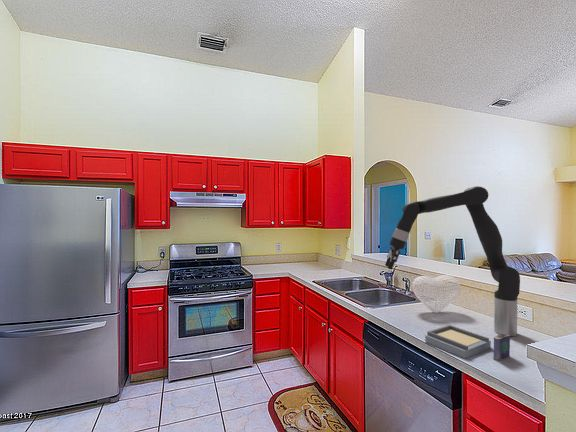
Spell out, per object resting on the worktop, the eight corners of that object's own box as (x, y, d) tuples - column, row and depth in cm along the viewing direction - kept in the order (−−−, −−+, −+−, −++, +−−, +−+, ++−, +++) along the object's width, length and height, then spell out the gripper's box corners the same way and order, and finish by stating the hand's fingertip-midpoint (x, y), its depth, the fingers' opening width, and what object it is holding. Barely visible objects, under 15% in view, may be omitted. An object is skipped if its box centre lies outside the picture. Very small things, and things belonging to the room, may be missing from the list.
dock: (451, 333, 147) (451, 324, 147) (490, 347, 131) (490, 337, 131) (425, 341, 137) (425, 332, 137) (464, 358, 121) (464, 347, 121)
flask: (498, 361, 119) (498, 334, 119) (490, 358, 121) (490, 332, 121) (511, 356, 123) (511, 330, 123) (503, 353, 125) (503, 328, 125)
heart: (421, 318, 168) (422, 279, 168) (407, 309, 183) (407, 273, 183) (466, 315, 172) (466, 277, 172) (448, 307, 187) (448, 272, 187)
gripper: (409, 242, 147) (397, 272, 148) (403, 240, 161) (392, 267, 162) (394, 237, 148) (383, 267, 149) (390, 235, 163) (379, 262, 163)
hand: (388, 267), depth 156 cm, fingers open, 8 cm apart
